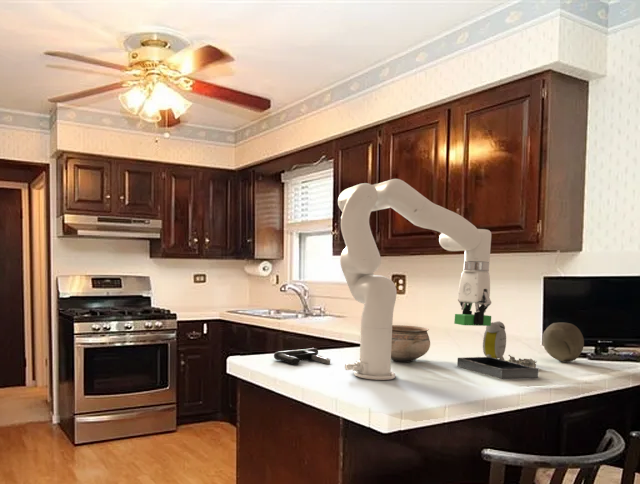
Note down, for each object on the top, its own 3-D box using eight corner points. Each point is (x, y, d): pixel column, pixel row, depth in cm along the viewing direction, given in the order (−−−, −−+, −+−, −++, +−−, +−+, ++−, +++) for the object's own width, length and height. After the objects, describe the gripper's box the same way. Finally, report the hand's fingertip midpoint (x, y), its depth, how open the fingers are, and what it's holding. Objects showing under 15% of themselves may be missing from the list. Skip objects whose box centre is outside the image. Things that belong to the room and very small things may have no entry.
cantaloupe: (589, 362, 205) (592, 323, 204) (572, 365, 197) (575, 325, 196) (551, 357, 216) (553, 320, 215) (533, 359, 208) (535, 321, 207)
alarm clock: (491, 358, 208) (493, 320, 207) (510, 361, 204) (512, 321, 203) (481, 362, 199) (483, 322, 198) (500, 365, 195) (503, 323, 194)
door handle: (342, 355, 192) (311, 346, 205) (300, 360, 180) (270, 350, 193) (341, 364, 192) (310, 355, 205) (299, 370, 181) (269, 359, 194)
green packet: (464, 325, 171) (464, 315, 171) (454, 323, 176) (454, 313, 176) (490, 325, 174) (491, 316, 173) (480, 324, 178) (480, 314, 178)
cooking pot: (400, 354, 215) (401, 323, 214) (443, 361, 200) (445, 328, 199) (360, 359, 199) (361, 326, 198) (405, 368, 184) (406, 332, 183)
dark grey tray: (501, 380, 167) (502, 369, 167) (457, 367, 188) (457, 357, 188) (537, 379, 170) (538, 368, 170) (490, 366, 191) (490, 356, 191)
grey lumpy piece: (506, 365, 195) (507, 354, 195) (529, 366, 193) (530, 355, 193) (513, 370, 185) (514, 358, 184) (537, 372, 183) (538, 360, 182)
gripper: (449, 267, 181) (446, 320, 182) (484, 267, 164) (480, 326, 165) (468, 267, 183) (465, 321, 184) (505, 268, 166) (501, 327, 167)
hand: (472, 323), depth 175 cm, fingers closed on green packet, 5 cm apart
